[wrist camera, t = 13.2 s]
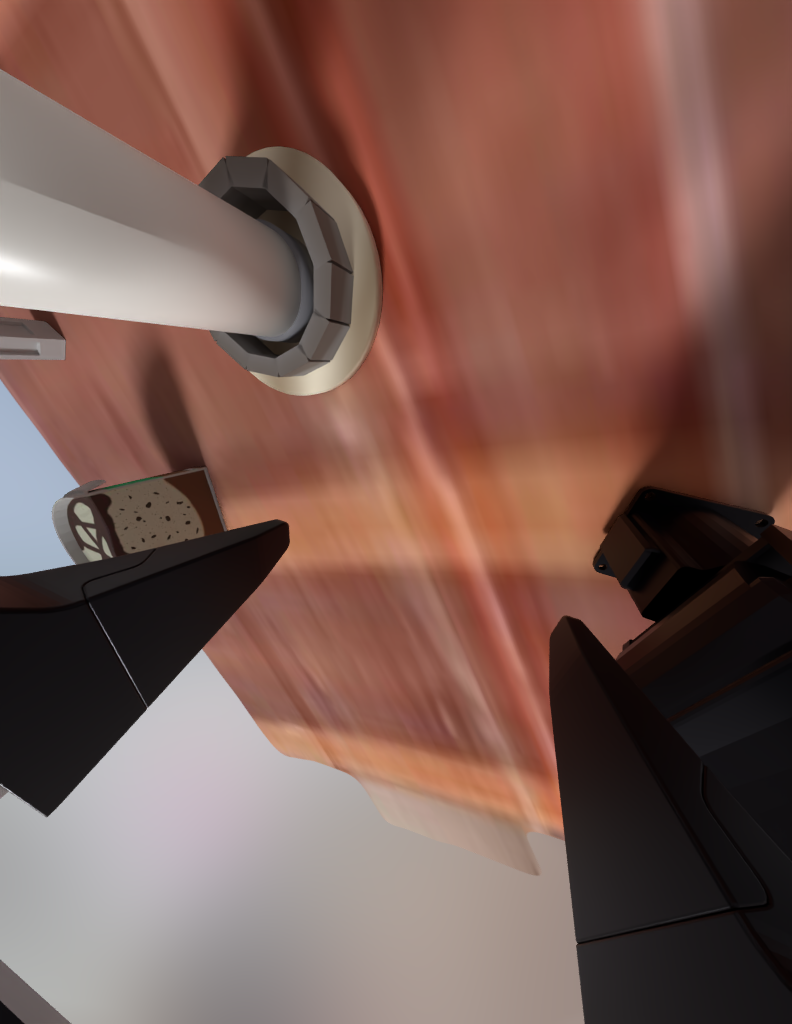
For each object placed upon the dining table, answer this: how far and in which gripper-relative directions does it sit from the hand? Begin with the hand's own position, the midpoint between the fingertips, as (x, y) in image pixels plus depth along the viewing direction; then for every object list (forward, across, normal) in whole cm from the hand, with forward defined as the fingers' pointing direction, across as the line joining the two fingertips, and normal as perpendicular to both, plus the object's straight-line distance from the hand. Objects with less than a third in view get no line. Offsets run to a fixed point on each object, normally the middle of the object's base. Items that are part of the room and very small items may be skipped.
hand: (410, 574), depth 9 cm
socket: (+13, +13, -8) cm, 20 cm away
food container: (+13, +26, +12) cm, 32 cm away
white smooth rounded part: (+12, +13, -8) cm, 19 cm away
